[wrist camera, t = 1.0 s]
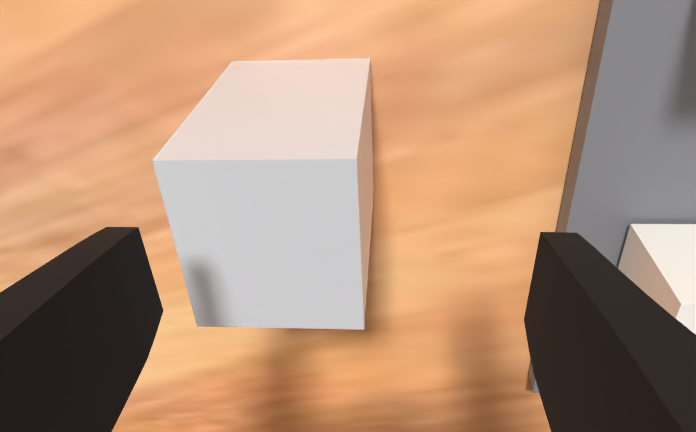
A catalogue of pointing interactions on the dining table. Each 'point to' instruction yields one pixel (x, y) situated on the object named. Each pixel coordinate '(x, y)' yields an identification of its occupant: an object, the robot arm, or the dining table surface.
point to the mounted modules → (664, 266)
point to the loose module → (275, 195)
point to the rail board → (634, 126)
